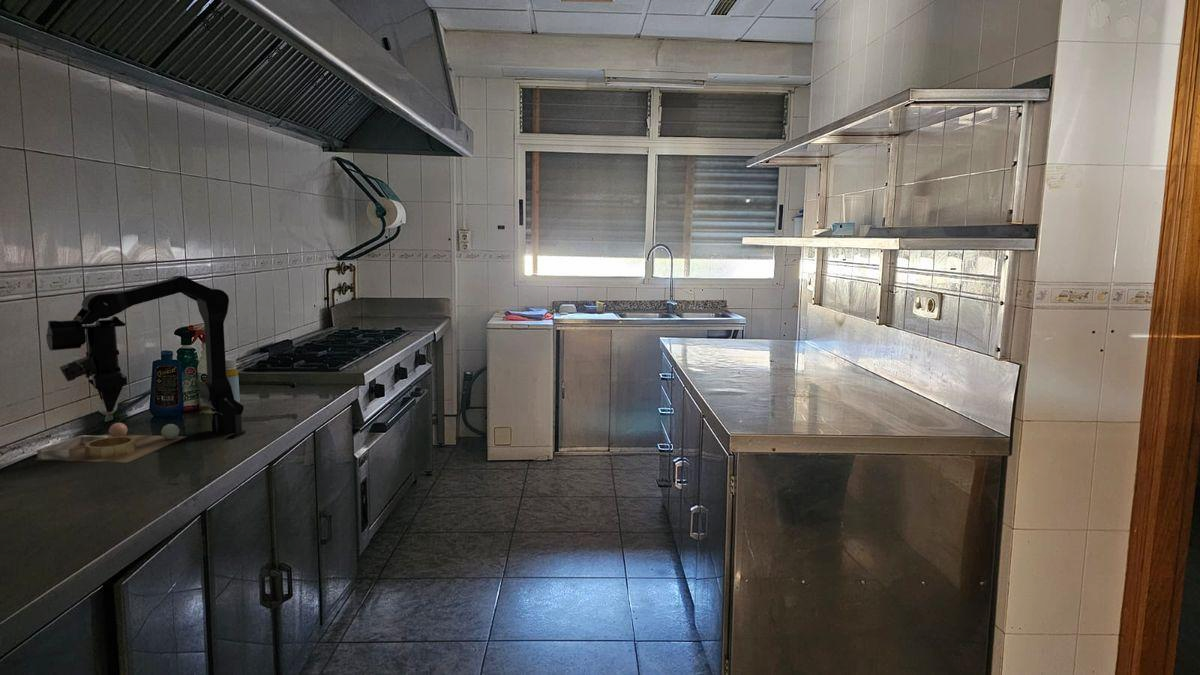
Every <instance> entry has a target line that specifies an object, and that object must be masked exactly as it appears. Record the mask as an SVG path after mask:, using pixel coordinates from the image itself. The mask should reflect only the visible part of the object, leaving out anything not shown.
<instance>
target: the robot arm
mask: <svg viewBox="0 0 1200 675" xmlns="http://www.w3.org/2000/svg"><path fill="white" fill-rule="evenodd" d="M179 293H180V294H183V295H185V296H186V297H187V298H189V299H191V300H194V301H195V302H196V304H197V308H198V312H199V314H200V317H201V318H202V321H203V324H204V325H203V326H204V339H205V341H204V342H205V343H204V344H205V356H206V359H205V360H206V378H205V380H204V382H199V383H198V386H199V390H200V393H199V397H198V398H200V399H201V400H202V403H203V404H204V405H206V407H209V408H210V410H211V412H212V415H211V416H212V418H211V423H210V424H211V432H212V433H213V434H217V435H229V436H227V437H225V439H235V438H237V437H239V436H241V435H244V434H245V433H246V430H243V421H242V414H243V412H244V408H245V407H244V405H242V404H241V402H240V403H238V402H237V401H236V400H234V396H233V392H232V388H231V385H230V383H229V381H228V378H227V376H226V361H225V358H226V346H225V342H226V341H225V325H224V324H225V319H226V317H227V315H228V311H229V304H230V299H229V295H228V294H227V293H226V292H225V291H224V290H222V289H218V288H210V287H208V286H205V285H203V284H201V283H199V282H197V281H194V280H192V279H190V278H189V277H188V276H185V275H175V276H172V277H171V278H167V279H164V280H163V279H162V280H158V281H156V282H152V283H148V284H144V285H140V286H137V287H132V288H129V289H124V290H115V291H104V292H103V291H100V292H92V293H89V294H88V295H86V296H85V297H84V298H83V300H82V303H81V309H80V310H79V311H78V312H77V313H76V315H75V316H74V318H73V319H71V320H48V321H47V330H46V334H45V336H46V343H47V347H48V350H49V351H62V350H72V349H73V350H75V349H81V347H82V346H83V345H85V344H86V342H87V349H88V350H86V351H85V357H82V358H79V359H76V360H73V361H72V362H67V363H66V364H63V365H61V366H59V370H60V372H61V373H62V375H63V376H64V378H65V380H66V381H67V382H71V381H73V380H75V379H77V378H79V377H82V376H84V377H85V379H87V382H88V383H89V384H91V385H92V387H93V388H94V389H96V390H97V392H98V396H99V398H100V401H101V400H102V399H103V401H104V404H105V408H106V411H107V412H112V411H113V409H114V406H115V404H116V402H117V401H118V398H119V396H120V394H121V391H122V390H123V387H124V386H127V385H128V377H127V375H126V374H124V373H123V372H121V367H120V365H119V355H120V350H119V349H118V342H117V340H118V339H117V329H116V328H117V327H125V326H126V322H123V321H122V320H121V319H119V317H118V316H115V315H118V314H120V313H122V312H124V311H125V310H127V309H128V308H130V307H133V306H135V305H138V304H139V305H140V304H143V303H146V302H147V303H148V302H151V301H153V300H157V299H161V298H165V297H167V296H172V295H175V294H179ZM109 318H110V319H109ZM90 377H91V379H89V378H90Z"/></svg>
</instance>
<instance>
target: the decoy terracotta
mask: <svg viewBox="0 0 1200 675" xmlns="http://www.w3.org/2000/svg"><path fill="white" fill-rule="evenodd" d="M108 433H109V434H110V435H111V436H112V437H118V436H125V435H128V434H127V433H128V426H127V425H126V424H124V423H123V422H115V423H113V424H112V425H110V427H109V430H108Z"/></svg>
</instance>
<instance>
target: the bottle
mask: <svg viewBox="0 0 1200 675" xmlns="http://www.w3.org/2000/svg"><path fill="white" fill-rule="evenodd" d="M225 361H226V376H227V378H228V381H229V383H230V385H231V388H232V392H233V396H234V400H236V401H237V402H238V403H240V404H241V402H240V401H241V399H240V383H239V381H240V380H239V371H238V370H237V359H236V358H235V357H225Z"/></svg>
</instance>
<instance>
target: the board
mask: <svg viewBox="0 0 1200 675" xmlns="http://www.w3.org/2000/svg"><path fill="white" fill-rule="evenodd" d="M125 436H127V437H133V438H135V439H136V450H135V451H133V452H131V453H129V454H125V455H121V456H116V457H108V458H90V457H87V456H85V445H86V443H88V442H91V441H93V440H97V439H102V438H107V437H112V436H111V435H110V433H109V434H105V433H104V434H102V435H91V434H90V435H88V434H87V435H86V434H85V435H84V434H83V435H78V436H75V437H72V438H69V439H66V440H63V441H60V442H58V443H54V444H52V445H50V446H46V447H43V448H41V449H38V450H36V453H37V454H36V455H37V456H36V457H37V458H35V459H34V461H61V462H63V461H65V462H91V463H92V462H94V463H95V462H97V463H98V462H99V463H100V462H101V463H129V462H132V461H134V460H137V459H139V458H141V457H144V456H145V455H148V454H150V453H153V452H154V451H158V450H160V449H162V448H165V447H168V446H169V445H171V444H173V443H175V442H178V441H180V440H183V439H185V438H188V436H186V435H185V436H181V435H178V436H177V437H176V438H174V439H171V440H168V439H165V438H164V437H163V436H162V435H148V434H147V435H145V434H143V435H142V434H141V435H138V434H126V435H125Z"/></svg>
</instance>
